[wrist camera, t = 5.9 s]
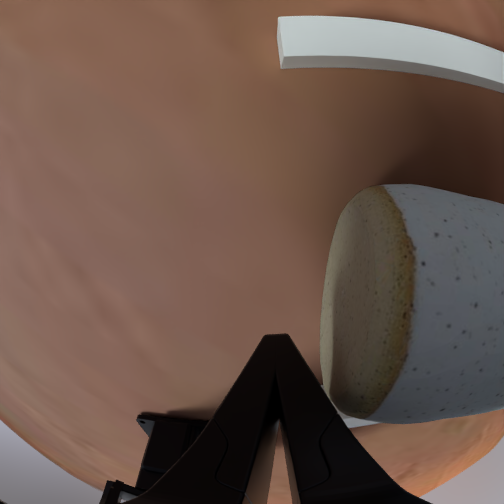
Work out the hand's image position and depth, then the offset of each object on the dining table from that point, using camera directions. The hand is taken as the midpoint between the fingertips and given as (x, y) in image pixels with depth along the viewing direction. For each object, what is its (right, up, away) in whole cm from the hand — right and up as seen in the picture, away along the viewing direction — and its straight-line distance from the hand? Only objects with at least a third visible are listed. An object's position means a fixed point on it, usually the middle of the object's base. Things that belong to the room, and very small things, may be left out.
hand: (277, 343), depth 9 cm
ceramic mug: (+6, +1, +4) cm, 7 cm away
